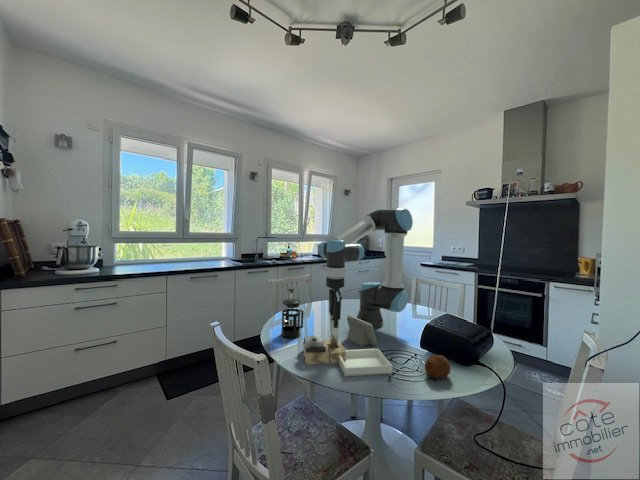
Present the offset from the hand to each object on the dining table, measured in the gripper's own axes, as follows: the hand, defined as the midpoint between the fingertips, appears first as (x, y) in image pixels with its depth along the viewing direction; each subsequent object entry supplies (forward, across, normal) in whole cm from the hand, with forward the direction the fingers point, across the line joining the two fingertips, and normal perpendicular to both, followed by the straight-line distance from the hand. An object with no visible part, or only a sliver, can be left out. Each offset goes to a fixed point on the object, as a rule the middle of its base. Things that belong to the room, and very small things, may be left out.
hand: (334, 332), depth 110 cm
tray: (+10, +9, +10) cm, 16 cm away
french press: (+10, -23, -16) cm, 30 cm away
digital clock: (+10, -13, +16) cm, 23 cm away
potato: (+10, +19, +35) cm, 41 cm away
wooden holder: (+10, 0, -4) cm, 11 cm away
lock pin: (+5, 0, 0) cm, 5 cm away
